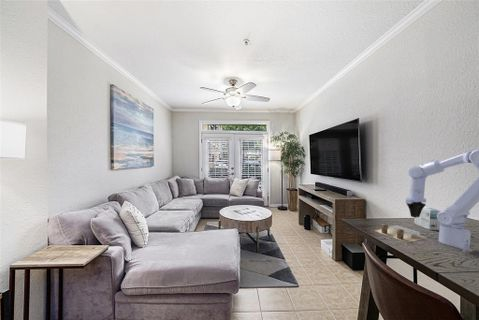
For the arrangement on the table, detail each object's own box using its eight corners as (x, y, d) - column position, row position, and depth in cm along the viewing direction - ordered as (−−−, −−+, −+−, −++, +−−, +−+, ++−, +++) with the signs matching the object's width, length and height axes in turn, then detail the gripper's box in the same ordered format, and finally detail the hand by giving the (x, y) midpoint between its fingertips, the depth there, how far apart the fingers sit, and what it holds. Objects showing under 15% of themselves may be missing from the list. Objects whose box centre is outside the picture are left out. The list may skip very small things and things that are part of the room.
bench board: (426, 240, 101) (427, 229, 100) (407, 244, 94) (408, 233, 94) (392, 229, 114) (393, 219, 114) (373, 232, 107) (374, 222, 107)
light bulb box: (441, 230, 116) (443, 210, 115) (429, 229, 116) (430, 210, 115) (425, 224, 126) (426, 206, 126) (413, 223, 126) (414, 205, 126)
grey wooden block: (419, 236, 102) (419, 232, 102) (411, 238, 99) (411, 233, 99) (396, 229, 111) (397, 225, 111) (388, 230, 108) (388, 226, 108)
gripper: (415, 188, 115) (413, 213, 116) (399, 189, 109) (397, 215, 110) (431, 190, 109) (429, 217, 109) (416, 191, 103) (413, 219, 103)
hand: (414, 216), depth 109 cm, fingers closed
